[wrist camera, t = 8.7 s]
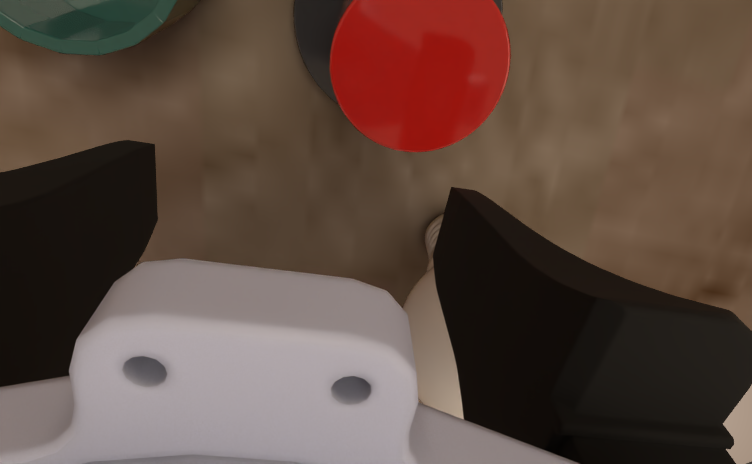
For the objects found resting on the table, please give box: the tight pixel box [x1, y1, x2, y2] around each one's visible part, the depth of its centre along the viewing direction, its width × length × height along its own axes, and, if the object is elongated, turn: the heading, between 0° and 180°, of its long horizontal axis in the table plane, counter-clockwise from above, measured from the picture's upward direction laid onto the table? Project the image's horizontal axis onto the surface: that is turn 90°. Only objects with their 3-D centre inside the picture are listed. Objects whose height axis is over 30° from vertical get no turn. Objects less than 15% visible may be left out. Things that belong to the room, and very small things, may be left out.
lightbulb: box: [403, 214, 464, 419], centre depth 21 cm, size 6×6×11 cm
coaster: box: [294, 0, 503, 105], centre depth 20 cm, size 8×8×1 cm
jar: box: [329, 0, 511, 152], centre depth 17 cm, size 5×5×8 cm
